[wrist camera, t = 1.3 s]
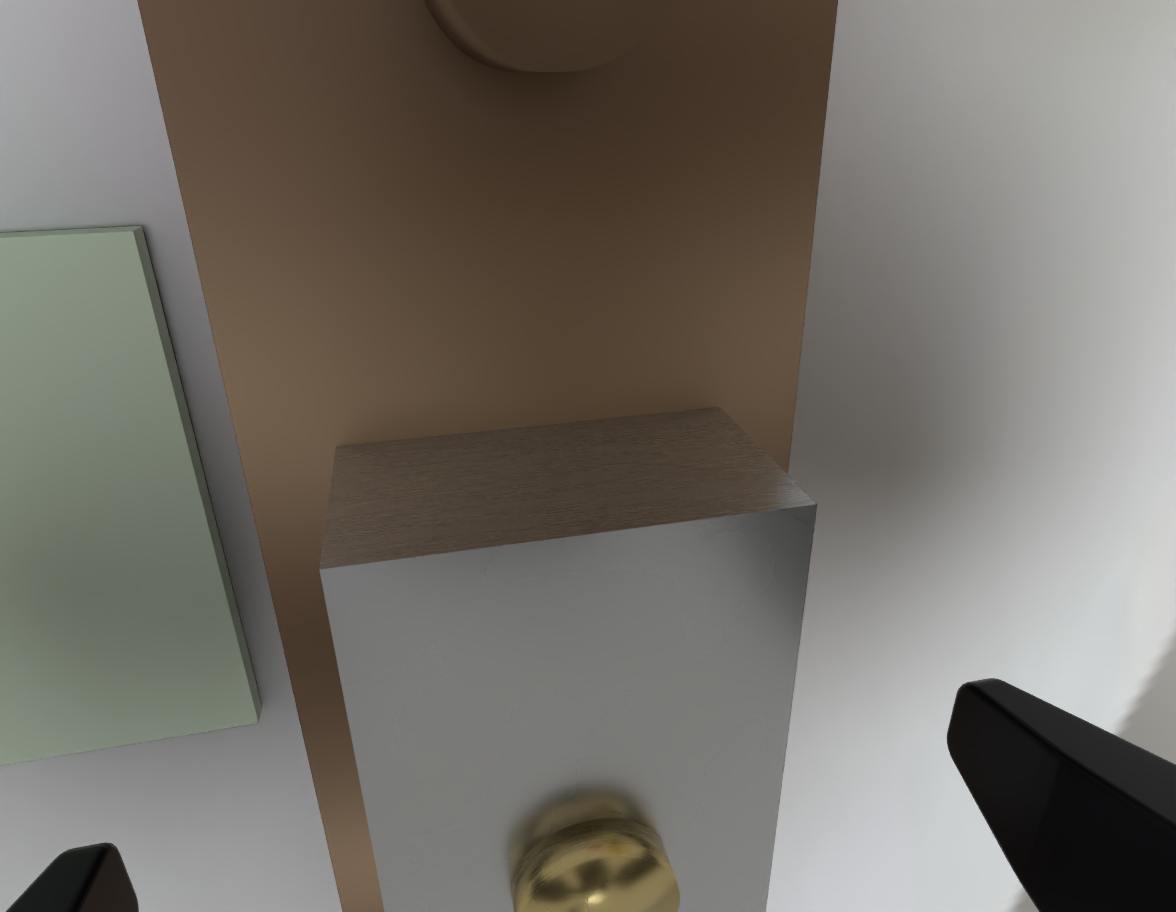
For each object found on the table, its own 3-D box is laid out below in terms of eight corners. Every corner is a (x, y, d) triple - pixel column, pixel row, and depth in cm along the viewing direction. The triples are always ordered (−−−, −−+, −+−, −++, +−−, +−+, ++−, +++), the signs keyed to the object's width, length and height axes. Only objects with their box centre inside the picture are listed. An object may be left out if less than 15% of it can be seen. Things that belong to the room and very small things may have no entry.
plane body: (688, 852, 18) (803, 1150, 13) (373, 920, 16) (368, 1281, 12) (746, -138, 10) (1096, -341, 5) (157, -159, 9) (-145, -464, 4)
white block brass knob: (697, 768, 12) (782, 957, 10) (399, 825, 11) (403, 1050, 9) (719, 406, 10) (844, 531, 7) (335, 446, 9) (314, 605, 6)
